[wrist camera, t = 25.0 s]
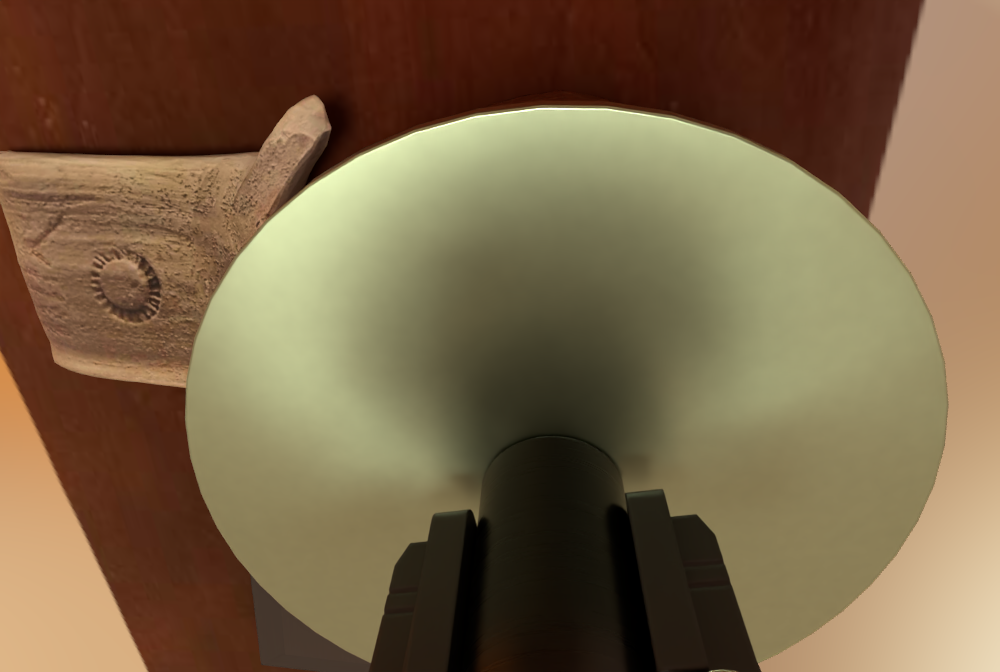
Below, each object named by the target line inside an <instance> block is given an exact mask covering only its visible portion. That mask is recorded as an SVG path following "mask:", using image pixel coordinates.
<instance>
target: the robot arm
mask: <svg viewBox="0 0 1000 672" xmlns="http://www.w3.org/2000/svg"><path fill="white" fill-rule="evenodd" d="M625 499H626V507H627V514H628V520H629V525H630V531H631V537H632V543H633V548H634V554H635V560H636V565H637V571H638V577H639V582H640V588H641V594H642V599H643V605H644V611H645V617H646V622H647V628H648V634H649V639H650V645H651V651H652V656H653V662H654V668H655V672H761V670H760V667H759V665H758V663H757V660H756V657H755V654H754V651H753V648H752V645H751V642H750V639H749V636H748V632H747V629H746V626H745V623H744V620H743V617H742V614H741V611H740V608H739V605H738V602H737V599H736V596H735V593H734V590H733V587H732V585H731V583H730V578H729V575H728V572H727V569H726V566H725V564H724V561H723V557H722V554H721V551H720V548H719V545H718V542H717V539H716V536H715V534H714V533H713V532H712V530H711V529H710V528H709V527H708V526H707V525H706V524H705V523H704V522H703V521H702V520H701V518H700V517H699V516H698V515H697V514H692V515H682V516H673V517H670V513H669V509H668V505H667V501H666V497H665V493H664V490H663V489H655V490H646V491H637V492H627V493H625ZM476 533H477V524H476V520H475V517H474V514H473V512H472V510H471V509H468V510H459V511H450V512H441V513H435V514H434V515H433V517H432V520H431V525H430V530H429V535H428V540H427V541H426V542H416V543H410V544H409V545H408V547H407V548H406V550H405V551H404V553H403V554H402V555H401V557H400V558H399V560H398V561H397V563H396V564H395V566H394V570H393V574H392V579H391V583H390V587H389V595H387V599H386V603H385V607H384V615H382V620H381V624H380V628H379V632H378V636H377V640H376V644H375V648H374V652H373V657H372V661H371V665H370V669H369V672H461V671H462V662H463V652H464V643H465V634H466V625H467V616H468V607H469V597H470V588H471V579H472V570H473V561H474V552H475V542H476Z"/></svg>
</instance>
